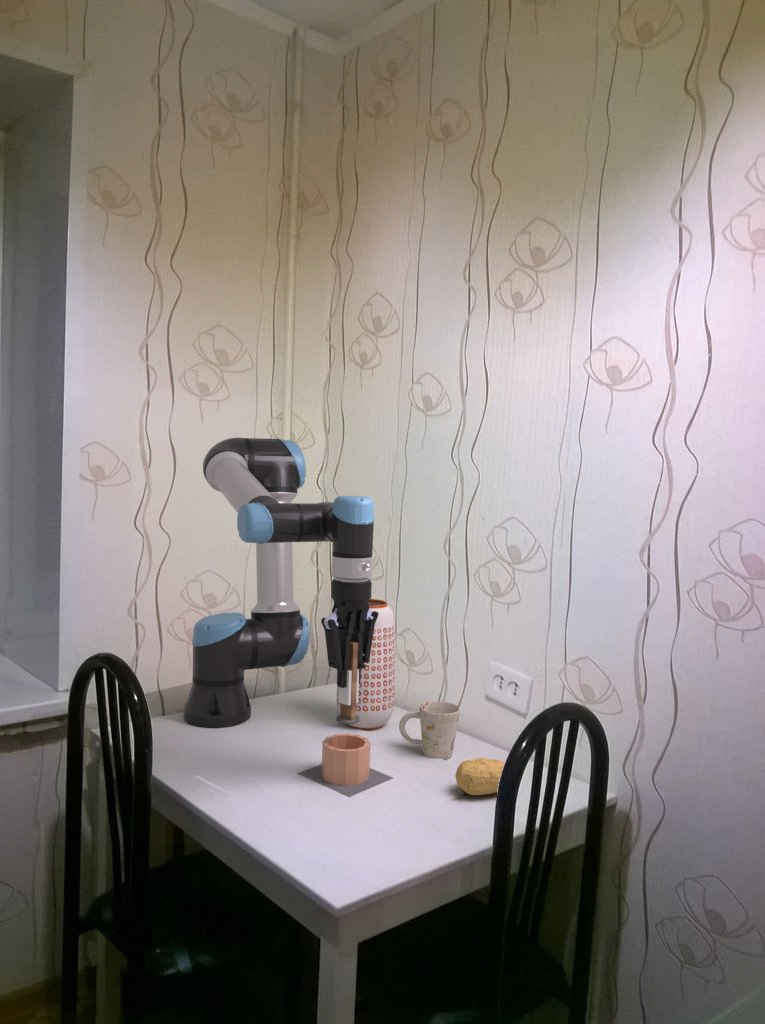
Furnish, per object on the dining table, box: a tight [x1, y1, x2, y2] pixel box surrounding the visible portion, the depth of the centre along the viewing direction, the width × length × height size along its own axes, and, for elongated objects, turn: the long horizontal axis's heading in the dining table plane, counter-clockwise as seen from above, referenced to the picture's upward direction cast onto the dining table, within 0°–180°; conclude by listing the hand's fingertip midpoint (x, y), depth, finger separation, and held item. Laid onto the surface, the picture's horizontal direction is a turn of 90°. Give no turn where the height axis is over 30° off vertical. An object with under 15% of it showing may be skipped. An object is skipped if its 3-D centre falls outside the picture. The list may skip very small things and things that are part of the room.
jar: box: [321, 733, 372, 786], centre depth 147 cm, size 9×9×6 cm
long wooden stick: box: [335, 641, 360, 725], centre depth 146 cm, size 4×4×15 cm
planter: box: [336, 598, 396, 731], centre depth 176 cm, size 13×13×28 cm
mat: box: [297, 763, 394, 798], centre depth 147 cm, size 14×12×1 cm
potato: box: [455, 757, 506, 796], centre depth 143 cm, size 7×11×6 cm, turn 106°
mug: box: [398, 700, 461, 760], centre depth 160 cm, size 8×13×10 cm, turn 78°
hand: (348, 702), depth 146 cm, fingers closed on long wooden stick, 1 cm apart
